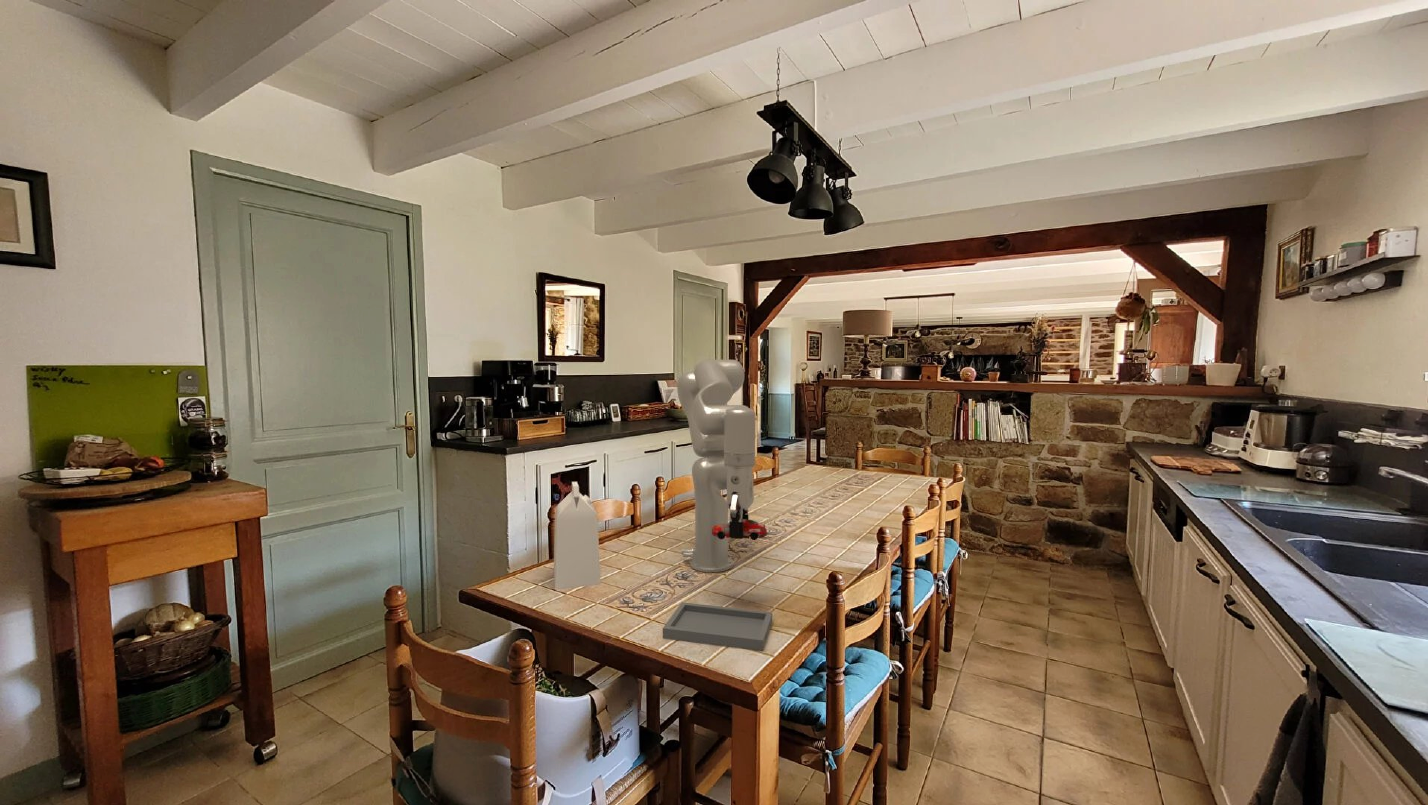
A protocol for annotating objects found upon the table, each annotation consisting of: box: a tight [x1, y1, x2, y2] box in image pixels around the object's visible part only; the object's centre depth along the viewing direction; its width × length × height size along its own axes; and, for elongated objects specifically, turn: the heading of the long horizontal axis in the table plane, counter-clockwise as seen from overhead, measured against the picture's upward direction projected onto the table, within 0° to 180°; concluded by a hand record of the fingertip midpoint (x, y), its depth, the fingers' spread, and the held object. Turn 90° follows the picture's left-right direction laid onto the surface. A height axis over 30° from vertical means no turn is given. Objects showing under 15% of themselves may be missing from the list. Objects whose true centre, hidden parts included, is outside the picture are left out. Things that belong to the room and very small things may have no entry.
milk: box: [553, 481, 601, 591], centre depth 149 cm, size 12×12×26 cm
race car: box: [712, 518, 768, 541], centre depth 133 cm, size 13×5×4 cm, turn 85°
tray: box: [662, 601, 773, 652], centre depth 121 cm, size 21×13×2 cm, turn 76°
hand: (739, 533), depth 133 cm, fingers closed on race car, 5 cm apart
